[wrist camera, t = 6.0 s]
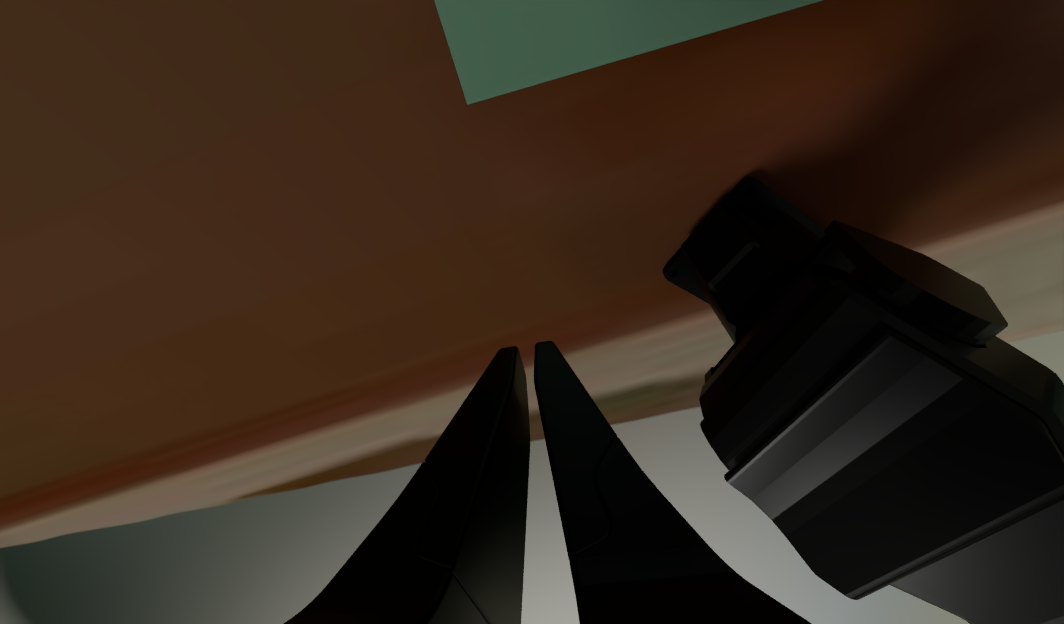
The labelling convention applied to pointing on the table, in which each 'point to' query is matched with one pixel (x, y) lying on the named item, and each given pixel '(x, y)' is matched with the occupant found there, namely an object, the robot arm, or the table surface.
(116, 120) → the table surface
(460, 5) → the circuit board
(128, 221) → the table surface
